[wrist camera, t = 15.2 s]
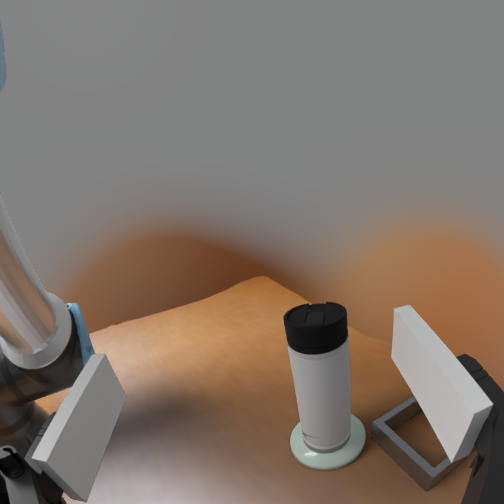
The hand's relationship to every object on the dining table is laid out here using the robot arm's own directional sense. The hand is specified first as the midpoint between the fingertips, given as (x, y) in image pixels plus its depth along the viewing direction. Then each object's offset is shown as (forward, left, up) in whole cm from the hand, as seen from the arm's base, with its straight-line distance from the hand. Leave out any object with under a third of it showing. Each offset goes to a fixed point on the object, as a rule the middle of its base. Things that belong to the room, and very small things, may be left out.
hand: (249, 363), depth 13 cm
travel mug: (-13, +10, -27) cm, 31 cm away
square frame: (-4, +21, -28) cm, 35 cm away
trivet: (-13, +10, -28) cm, 32 cm away
